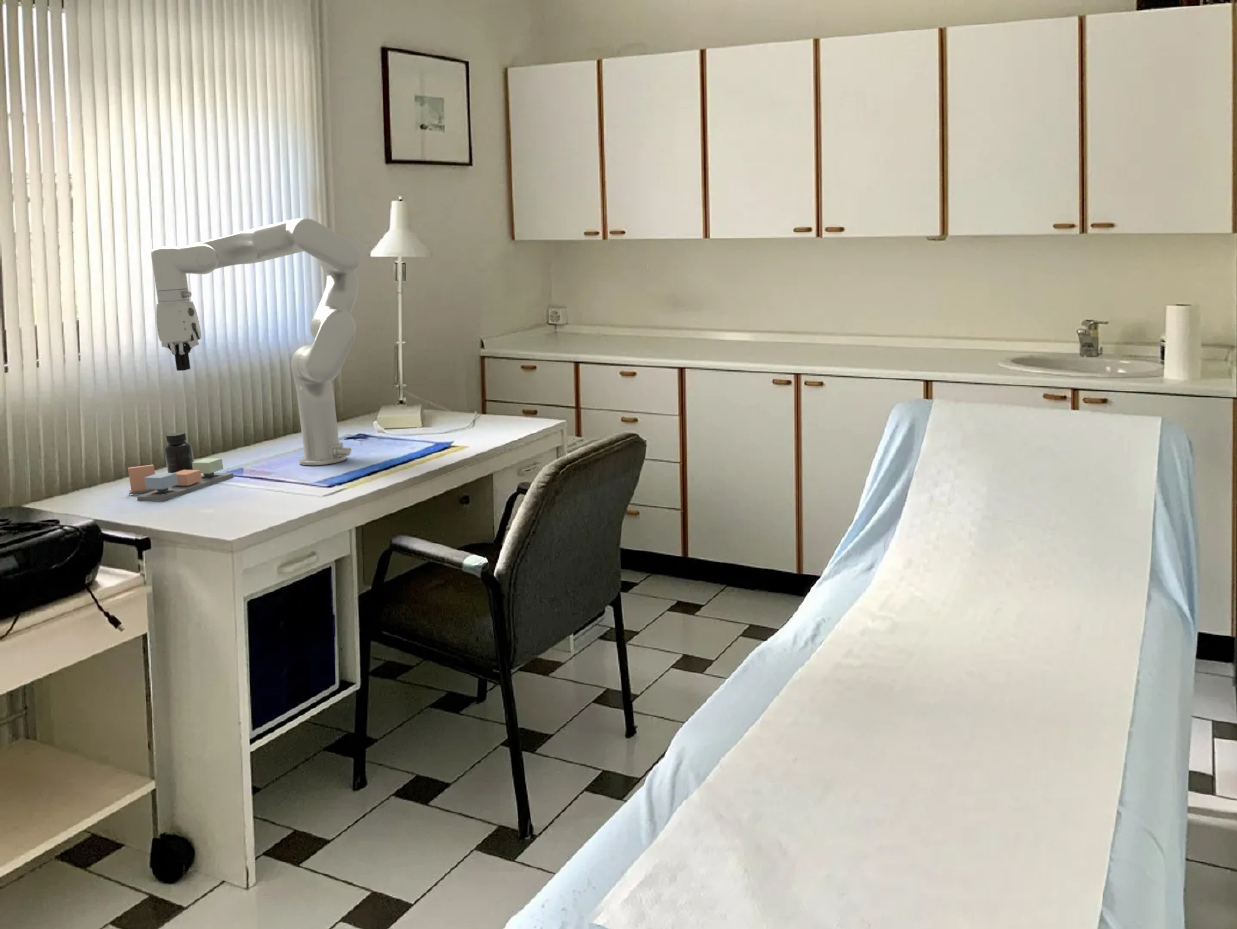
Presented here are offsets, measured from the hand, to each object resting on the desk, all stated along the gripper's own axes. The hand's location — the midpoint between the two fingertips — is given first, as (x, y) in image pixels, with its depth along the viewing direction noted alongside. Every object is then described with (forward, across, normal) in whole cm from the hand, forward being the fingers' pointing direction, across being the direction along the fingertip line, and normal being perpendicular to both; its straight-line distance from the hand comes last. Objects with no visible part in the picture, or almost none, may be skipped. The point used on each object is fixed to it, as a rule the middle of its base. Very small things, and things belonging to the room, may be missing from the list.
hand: (183, 369), depth 296 cm
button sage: (+28, -2, -2) cm, 28 cm away
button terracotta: (+29, -2, +7) cm, 30 cm away
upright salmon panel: (+29, +7, +12) cm, 32 cm away
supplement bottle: (+29, +8, -3) cm, 31 cm away
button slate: (+28, -2, +16) cm, 32 cm away
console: (+29, -2, +7) cm, 30 cm away
